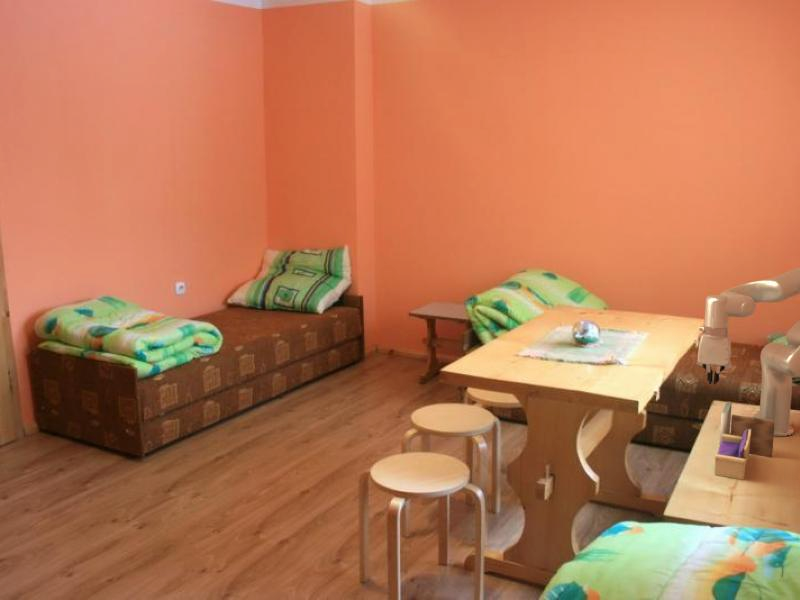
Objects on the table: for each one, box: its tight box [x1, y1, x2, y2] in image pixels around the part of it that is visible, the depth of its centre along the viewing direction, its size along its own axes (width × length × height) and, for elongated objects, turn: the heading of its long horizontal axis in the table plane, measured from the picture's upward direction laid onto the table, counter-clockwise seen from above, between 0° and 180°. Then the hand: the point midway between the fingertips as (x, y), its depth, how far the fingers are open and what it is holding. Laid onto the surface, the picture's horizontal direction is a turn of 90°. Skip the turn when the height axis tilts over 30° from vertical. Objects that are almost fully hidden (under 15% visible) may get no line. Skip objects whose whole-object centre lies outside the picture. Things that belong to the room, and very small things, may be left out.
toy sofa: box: [714, 429, 751, 480], centre depth 224 cm, size 21×9×10 cm, turn 151°
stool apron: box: [730, 414, 775, 458], centre depth 233 cm, size 12×2×12 cm, turn 60°
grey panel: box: [719, 401, 733, 446], centre depth 246 cm, size 2×15×11 cm, turn 150°
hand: (712, 383), depth 247 cm, fingers closed
